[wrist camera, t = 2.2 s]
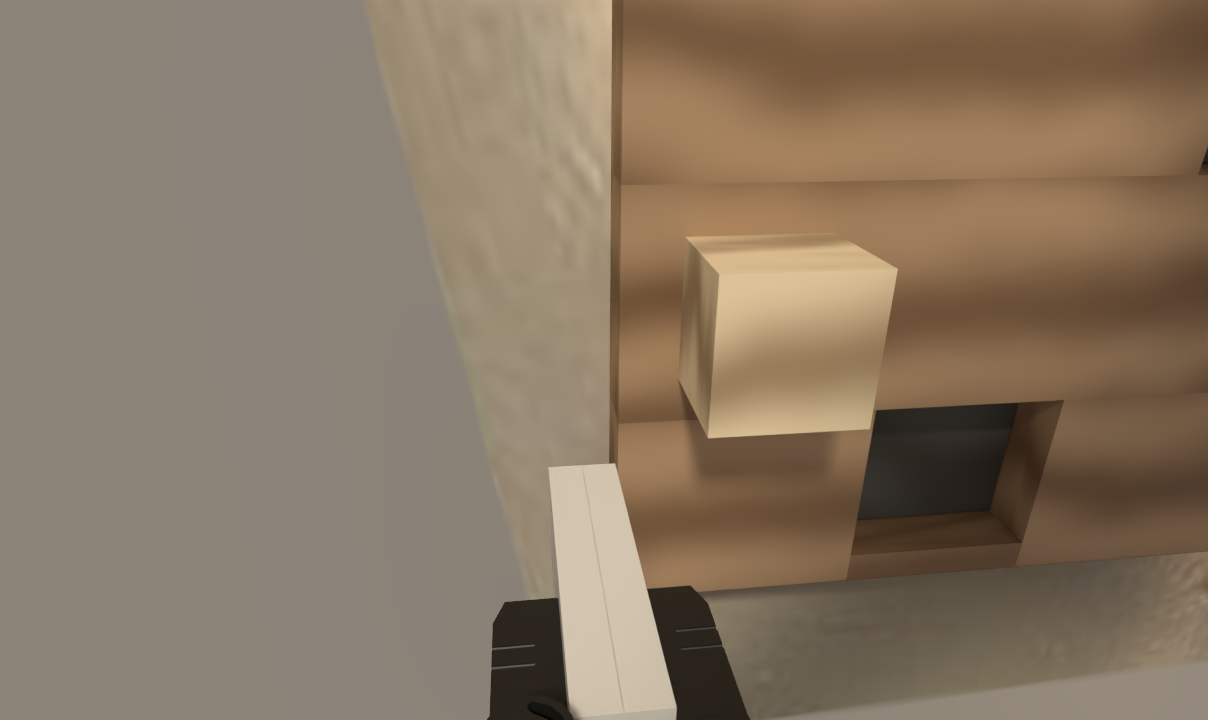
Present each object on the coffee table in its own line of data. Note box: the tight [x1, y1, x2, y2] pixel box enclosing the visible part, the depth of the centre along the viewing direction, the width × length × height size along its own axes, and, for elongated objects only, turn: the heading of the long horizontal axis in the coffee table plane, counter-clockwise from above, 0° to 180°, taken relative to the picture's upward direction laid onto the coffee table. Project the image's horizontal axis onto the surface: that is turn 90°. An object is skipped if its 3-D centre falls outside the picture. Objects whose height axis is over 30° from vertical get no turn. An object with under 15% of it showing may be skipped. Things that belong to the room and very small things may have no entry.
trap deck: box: [609, 0, 1208, 592], centre depth 30 cm, size 29×40×6 cm
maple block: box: [678, 233, 898, 438], centre depth 26 cm, size 6×6×5 cm
